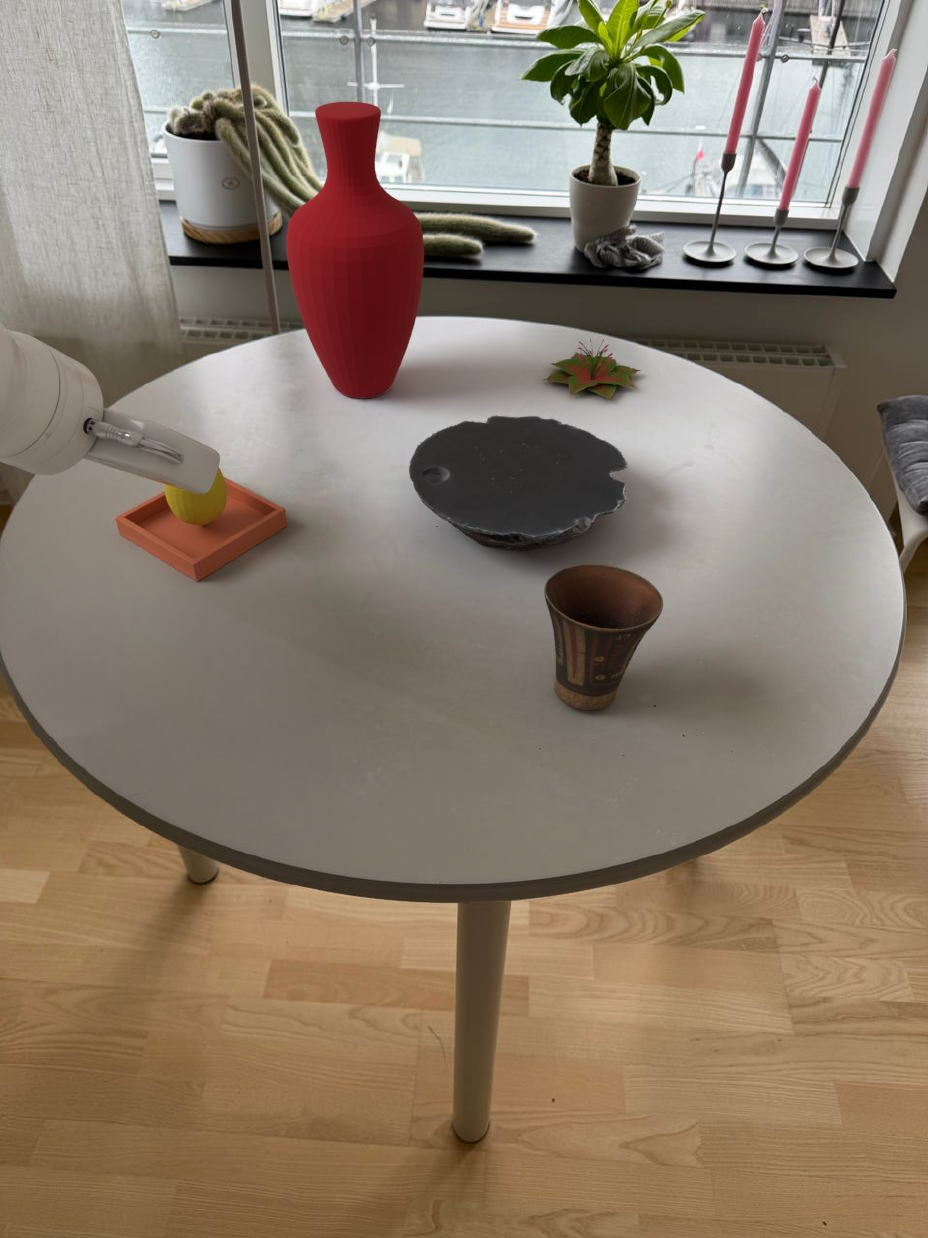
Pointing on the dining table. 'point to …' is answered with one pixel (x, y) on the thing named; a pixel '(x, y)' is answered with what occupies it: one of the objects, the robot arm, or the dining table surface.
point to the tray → (202, 531)
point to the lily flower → (592, 373)
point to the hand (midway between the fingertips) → (153, 462)
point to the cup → (597, 629)
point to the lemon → (198, 502)
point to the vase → (355, 259)
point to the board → (518, 480)
